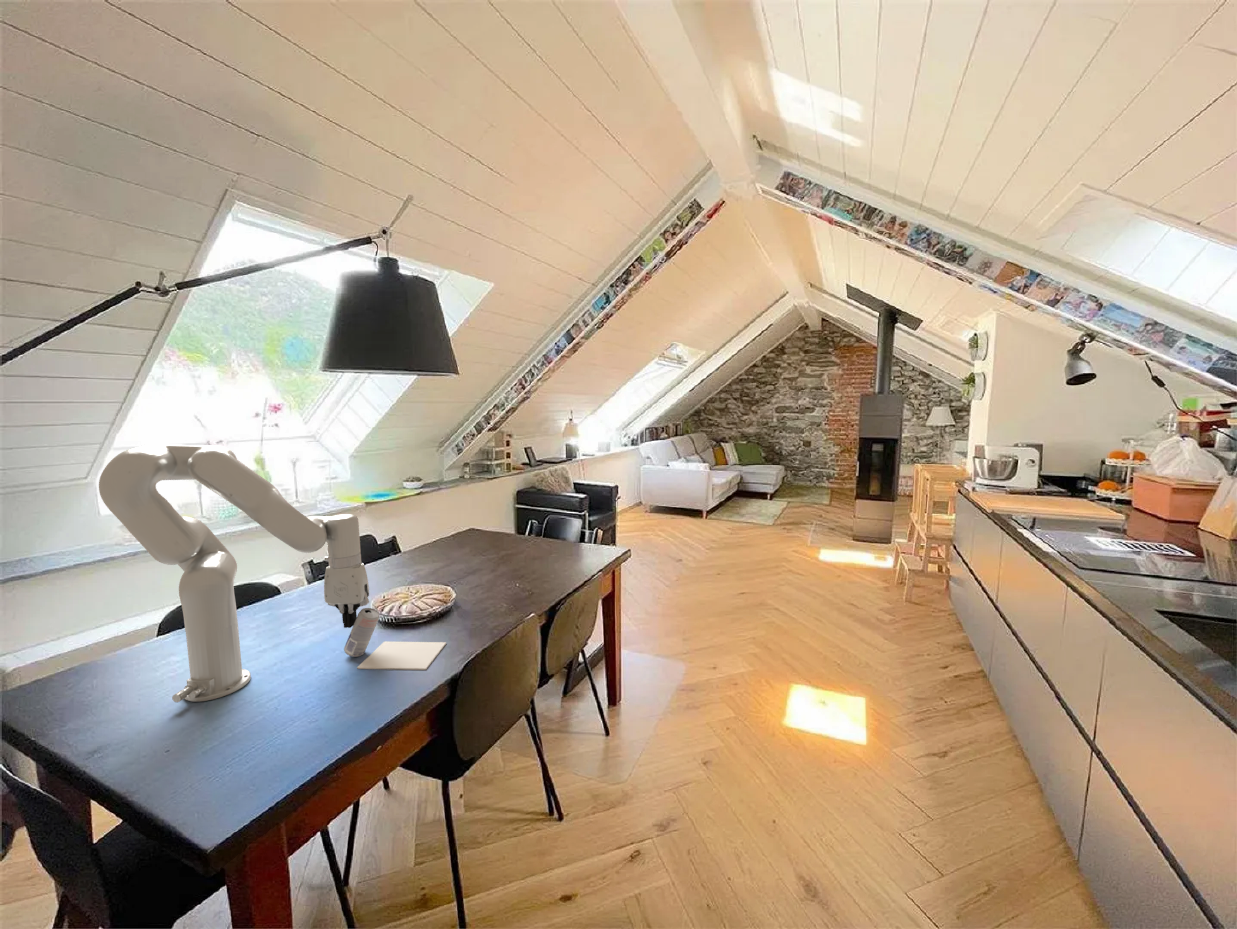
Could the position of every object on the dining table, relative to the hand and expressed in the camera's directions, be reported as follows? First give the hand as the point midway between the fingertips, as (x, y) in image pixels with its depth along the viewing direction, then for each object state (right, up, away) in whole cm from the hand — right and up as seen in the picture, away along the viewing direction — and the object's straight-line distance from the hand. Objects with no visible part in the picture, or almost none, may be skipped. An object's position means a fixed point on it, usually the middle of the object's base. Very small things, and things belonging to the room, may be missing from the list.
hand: (350, 625), depth 131 cm
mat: (+14, -8, 0) cm, 17 cm away
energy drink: (+1, -7, +1) cm, 7 cm away
